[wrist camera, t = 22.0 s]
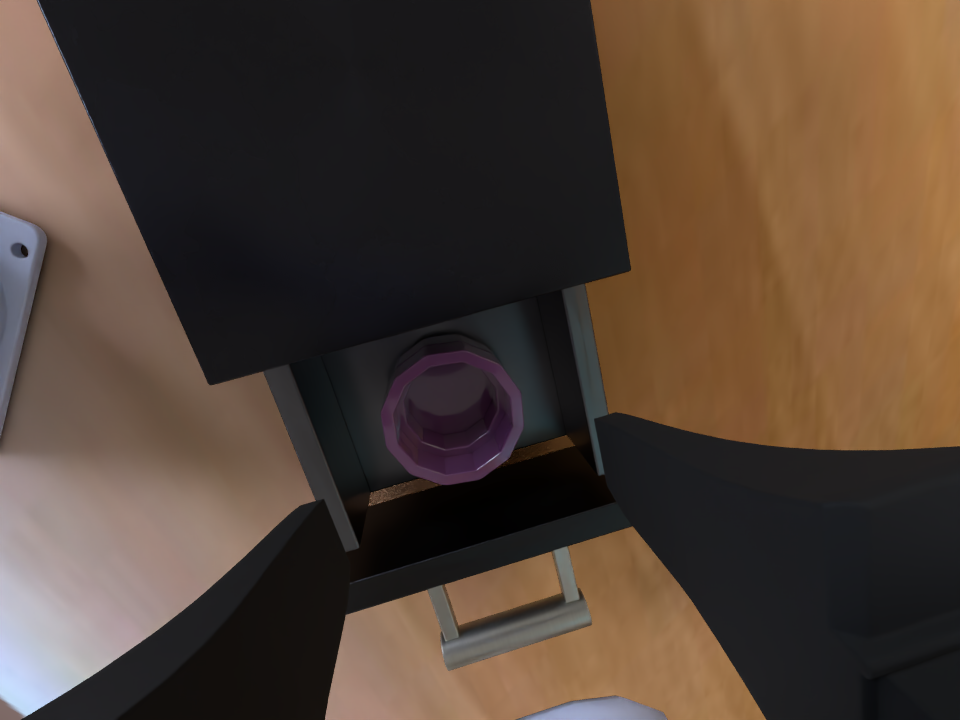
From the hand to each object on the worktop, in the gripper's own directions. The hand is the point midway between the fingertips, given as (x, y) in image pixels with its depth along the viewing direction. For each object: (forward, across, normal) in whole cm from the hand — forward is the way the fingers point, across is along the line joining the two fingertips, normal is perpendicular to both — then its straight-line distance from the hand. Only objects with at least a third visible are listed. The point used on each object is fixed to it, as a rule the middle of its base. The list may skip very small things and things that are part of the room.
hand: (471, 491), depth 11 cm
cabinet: (+8, 0, -11) cm, 14 cm away
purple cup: (+7, 0, -1) cm, 7 cm away
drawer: (+8, 0, +1) cm, 8 cm away
